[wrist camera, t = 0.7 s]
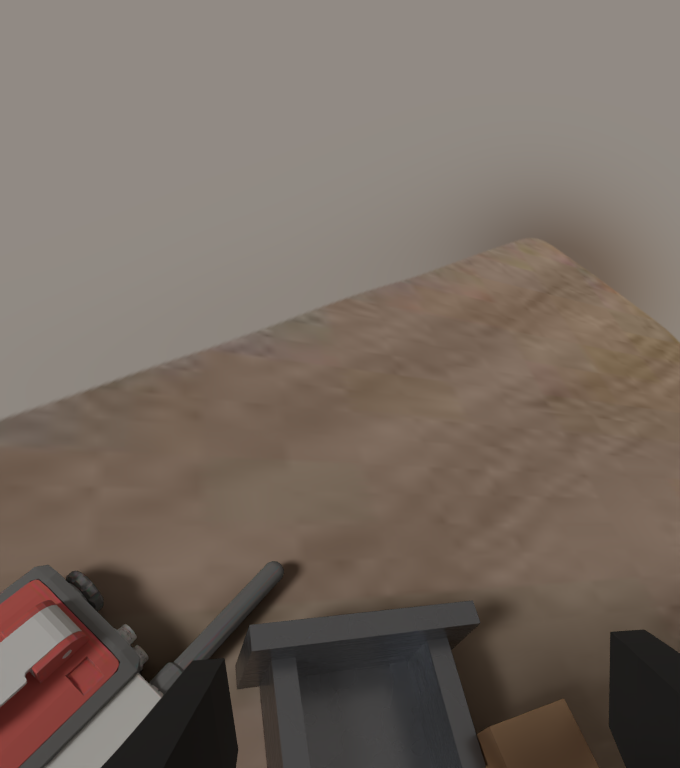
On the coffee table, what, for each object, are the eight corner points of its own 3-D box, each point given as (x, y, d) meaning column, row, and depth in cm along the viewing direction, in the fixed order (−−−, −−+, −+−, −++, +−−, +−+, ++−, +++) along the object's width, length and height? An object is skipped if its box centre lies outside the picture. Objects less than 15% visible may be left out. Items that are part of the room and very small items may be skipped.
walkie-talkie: (-144, 1085, 17) (291, 590, 30) (-208, 1121, 14) (308, 550, 27) (-292, 850, 19) (171, 485, 32) (-376, 835, 16) (174, 437, 29)
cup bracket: (473, 779, 26) (525, 755, 22) (247, 827, 23) (266, 808, 19) (433, 640, 30) (472, 600, 26) (235, 665, 27) (249, 624, 23)
